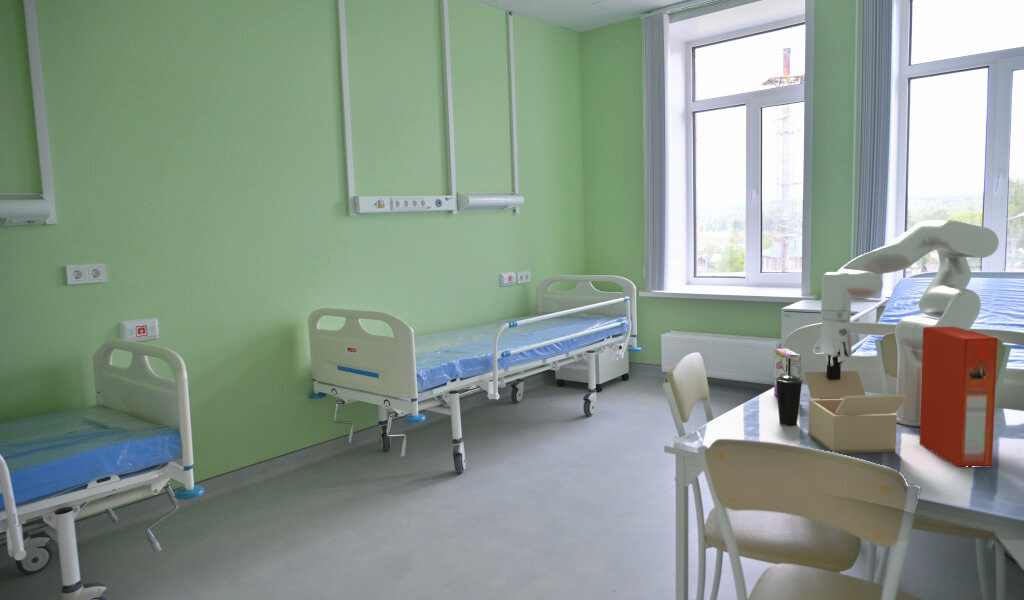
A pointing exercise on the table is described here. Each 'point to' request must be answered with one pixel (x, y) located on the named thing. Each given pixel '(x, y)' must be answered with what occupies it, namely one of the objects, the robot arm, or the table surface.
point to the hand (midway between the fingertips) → (833, 378)
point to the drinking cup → (788, 397)
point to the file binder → (958, 395)
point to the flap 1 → (834, 385)
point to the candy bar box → (785, 364)
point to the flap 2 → (870, 404)
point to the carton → (851, 429)
